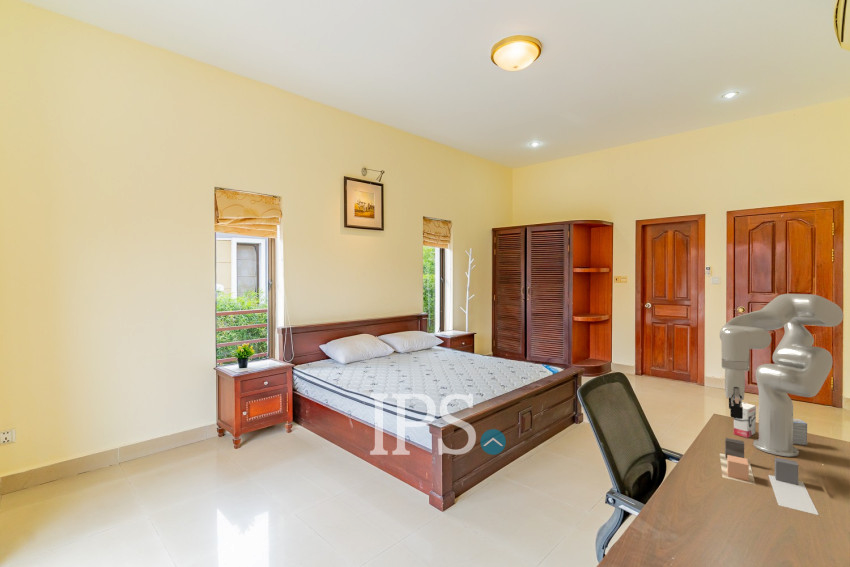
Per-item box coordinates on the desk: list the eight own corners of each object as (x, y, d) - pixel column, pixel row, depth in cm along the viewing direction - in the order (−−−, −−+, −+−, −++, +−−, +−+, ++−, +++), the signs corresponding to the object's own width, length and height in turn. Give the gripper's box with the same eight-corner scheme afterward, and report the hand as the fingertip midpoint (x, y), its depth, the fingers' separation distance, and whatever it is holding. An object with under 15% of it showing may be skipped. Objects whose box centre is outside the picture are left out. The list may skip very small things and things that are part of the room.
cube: (727, 470, 127) (727, 454, 127) (747, 474, 124) (747, 458, 124) (728, 476, 123) (728, 460, 123) (748, 481, 120) (748, 465, 120)
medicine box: (800, 441, 152) (800, 419, 152) (807, 445, 148) (807, 423, 148) (775, 438, 155) (775, 416, 154) (781, 443, 150) (781, 420, 150)
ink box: (748, 438, 155) (748, 408, 155) (733, 434, 159) (733, 405, 159) (756, 433, 160) (756, 404, 159) (741, 429, 164) (741, 401, 164)
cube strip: (719, 456, 139) (720, 436, 139) (748, 462, 135) (749, 442, 134) (722, 480, 123) (722, 458, 123) (755, 488, 118) (755, 465, 118)
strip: (768, 478, 124) (768, 456, 124) (802, 486, 120) (803, 462, 119) (778, 509, 108) (778, 483, 108) (818, 519, 103) (819, 492, 103)
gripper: (720, 358, 144) (720, 404, 145) (722, 368, 130) (723, 419, 131) (746, 360, 140) (747, 408, 140) (751, 371, 126) (752, 423, 126)
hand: (735, 413), depth 136 cm, fingers open, 9 cm apart
